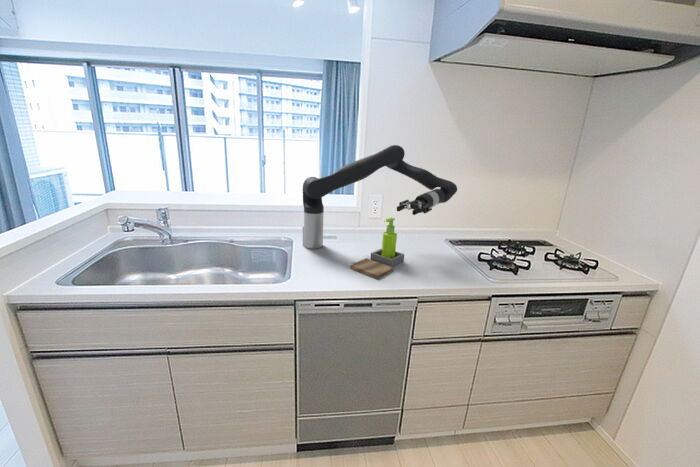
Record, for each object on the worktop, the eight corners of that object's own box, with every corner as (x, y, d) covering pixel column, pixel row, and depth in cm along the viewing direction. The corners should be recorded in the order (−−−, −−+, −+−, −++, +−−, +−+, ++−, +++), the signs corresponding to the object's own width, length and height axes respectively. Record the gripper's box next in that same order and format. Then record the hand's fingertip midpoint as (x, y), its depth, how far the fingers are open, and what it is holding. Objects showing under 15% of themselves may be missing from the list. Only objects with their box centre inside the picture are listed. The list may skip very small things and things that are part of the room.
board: (350, 268, 132) (350, 265, 132) (366, 261, 140) (366, 258, 140) (377, 279, 124) (377, 275, 123) (392, 270, 132) (393, 267, 131)
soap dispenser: (376, 262, 140) (380, 218, 134) (386, 258, 145) (389, 215, 139) (387, 266, 136) (391, 221, 130) (396, 262, 141) (401, 218, 135)
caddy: (370, 261, 140) (370, 253, 139) (383, 255, 147) (383, 247, 146) (391, 269, 133) (391, 260, 132) (403, 262, 141) (404, 254, 140)
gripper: (414, 191, 150) (391, 200, 140) (440, 195, 140) (418, 205, 130) (414, 206, 153) (392, 216, 143) (440, 211, 143) (418, 222, 133)
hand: (405, 211), depth 137 cm, fingers open, 8 cm apart
